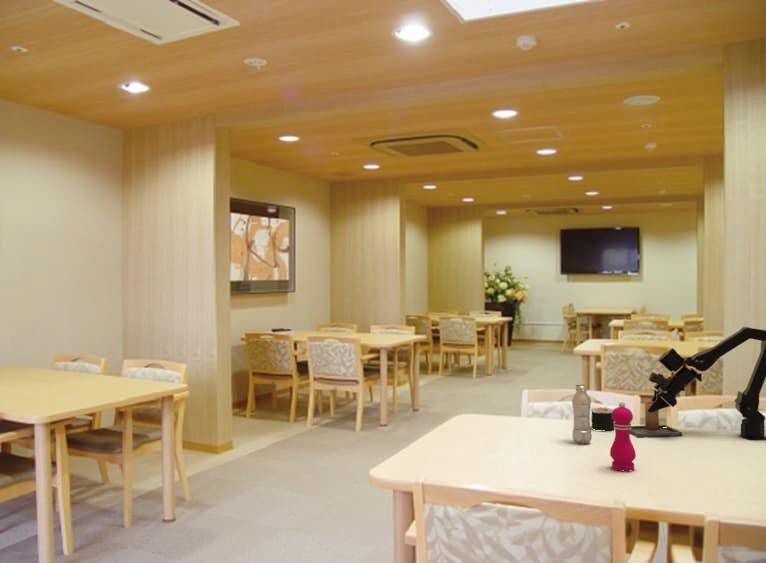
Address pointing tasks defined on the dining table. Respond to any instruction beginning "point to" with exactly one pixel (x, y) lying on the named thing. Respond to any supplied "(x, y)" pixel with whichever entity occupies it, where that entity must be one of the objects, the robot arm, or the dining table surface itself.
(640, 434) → the tray
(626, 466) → the pepper mill
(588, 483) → the dining table surface
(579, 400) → the plastic bottle
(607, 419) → the sushi
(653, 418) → the soy sauce bottle
